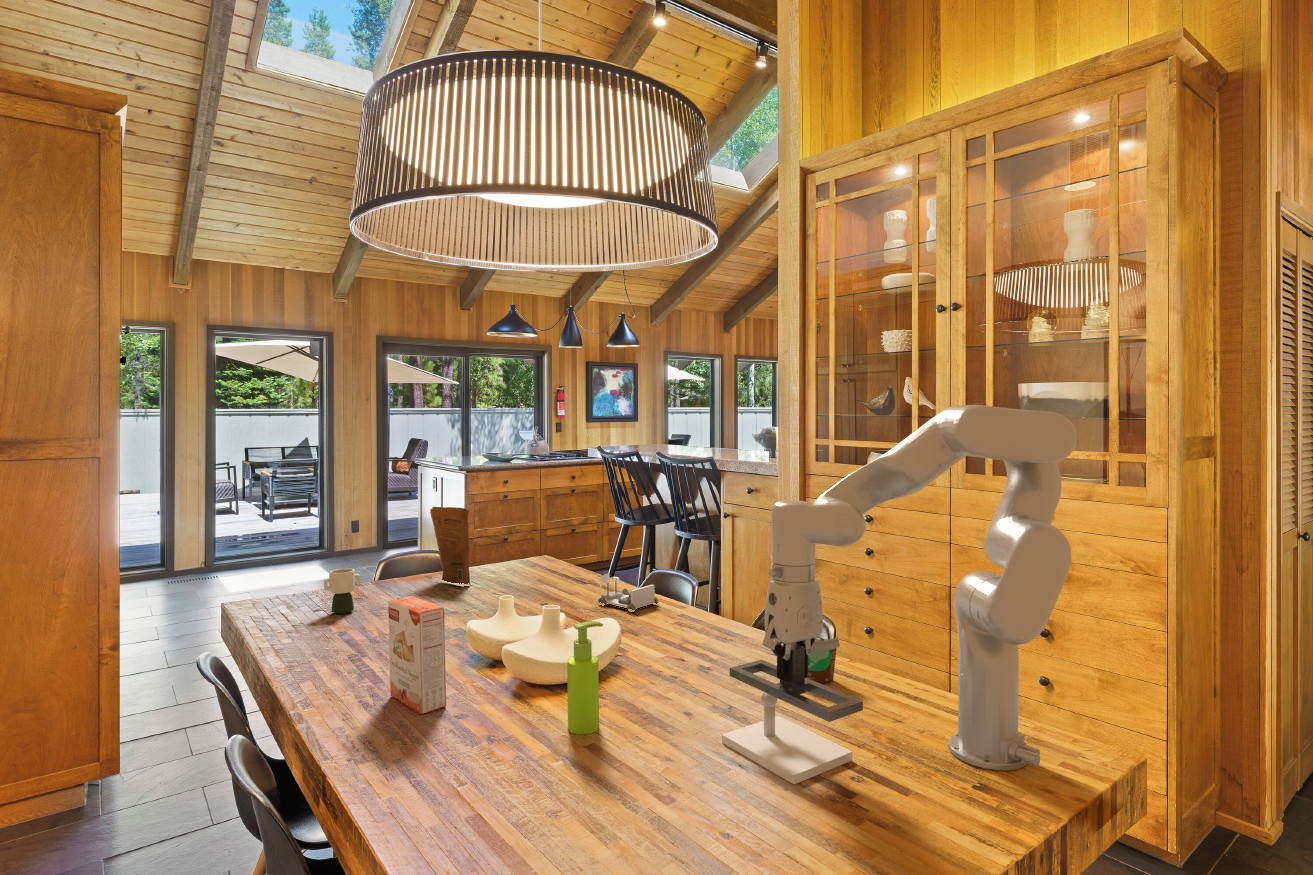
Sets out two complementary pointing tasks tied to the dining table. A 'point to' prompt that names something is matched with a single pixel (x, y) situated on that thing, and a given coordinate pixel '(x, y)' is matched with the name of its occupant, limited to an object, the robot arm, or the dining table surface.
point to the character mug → (342, 589)
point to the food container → (822, 660)
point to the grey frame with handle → (798, 687)
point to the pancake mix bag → (452, 542)
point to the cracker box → (417, 653)
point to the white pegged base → (786, 746)
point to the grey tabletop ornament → (627, 595)
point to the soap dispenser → (583, 684)
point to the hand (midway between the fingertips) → (792, 676)
